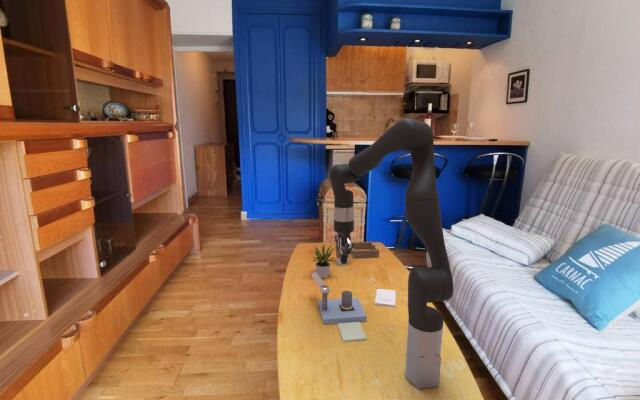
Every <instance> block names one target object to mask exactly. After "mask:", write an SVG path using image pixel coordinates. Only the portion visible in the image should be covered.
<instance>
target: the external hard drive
mask: <svg viewBox="0 0 640 400" xmlns="http://www.w3.org/2000/svg"><path fill="white" fill-rule="evenodd" d="M396 296H397V292H396V290H393V289H383V288H377V289H376V291H375V299H374V305H375V306H380V307H389V308H396V305H397V304H396V302H397V301H396V299H397V297H396Z"/></svg>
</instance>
